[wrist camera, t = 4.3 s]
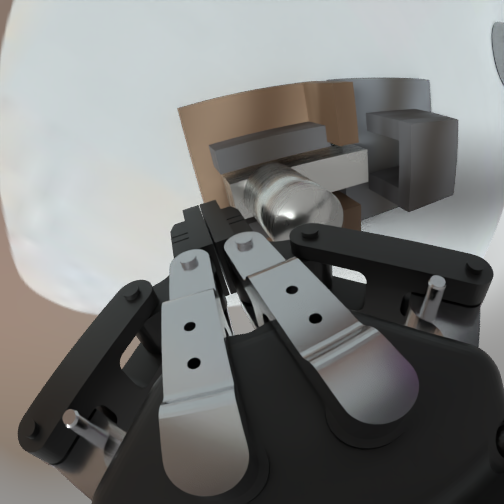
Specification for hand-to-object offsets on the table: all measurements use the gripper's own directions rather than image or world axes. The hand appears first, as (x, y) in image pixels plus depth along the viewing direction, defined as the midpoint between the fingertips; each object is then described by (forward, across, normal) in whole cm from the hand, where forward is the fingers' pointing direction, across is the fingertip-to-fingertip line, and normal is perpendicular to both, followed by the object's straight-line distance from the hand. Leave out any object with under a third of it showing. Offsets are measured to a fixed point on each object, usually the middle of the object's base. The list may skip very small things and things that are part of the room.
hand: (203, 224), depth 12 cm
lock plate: (+4, -10, 0) cm, 10 cm away
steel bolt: (+3, -6, 0) cm, 6 cm away
